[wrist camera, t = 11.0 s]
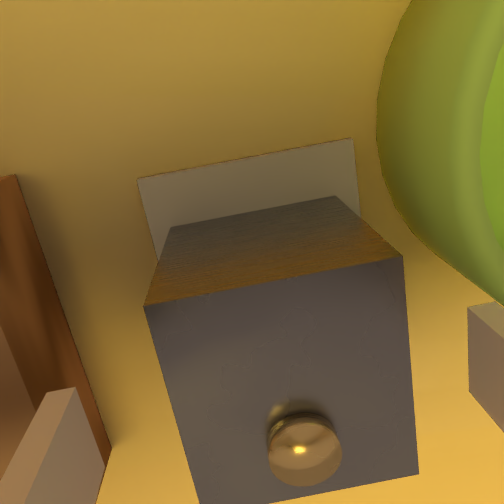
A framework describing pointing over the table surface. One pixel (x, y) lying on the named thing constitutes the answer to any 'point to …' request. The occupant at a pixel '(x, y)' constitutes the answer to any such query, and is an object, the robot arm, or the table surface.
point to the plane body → (33, 333)
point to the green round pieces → (448, 133)
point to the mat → (249, 186)
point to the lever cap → (285, 352)
